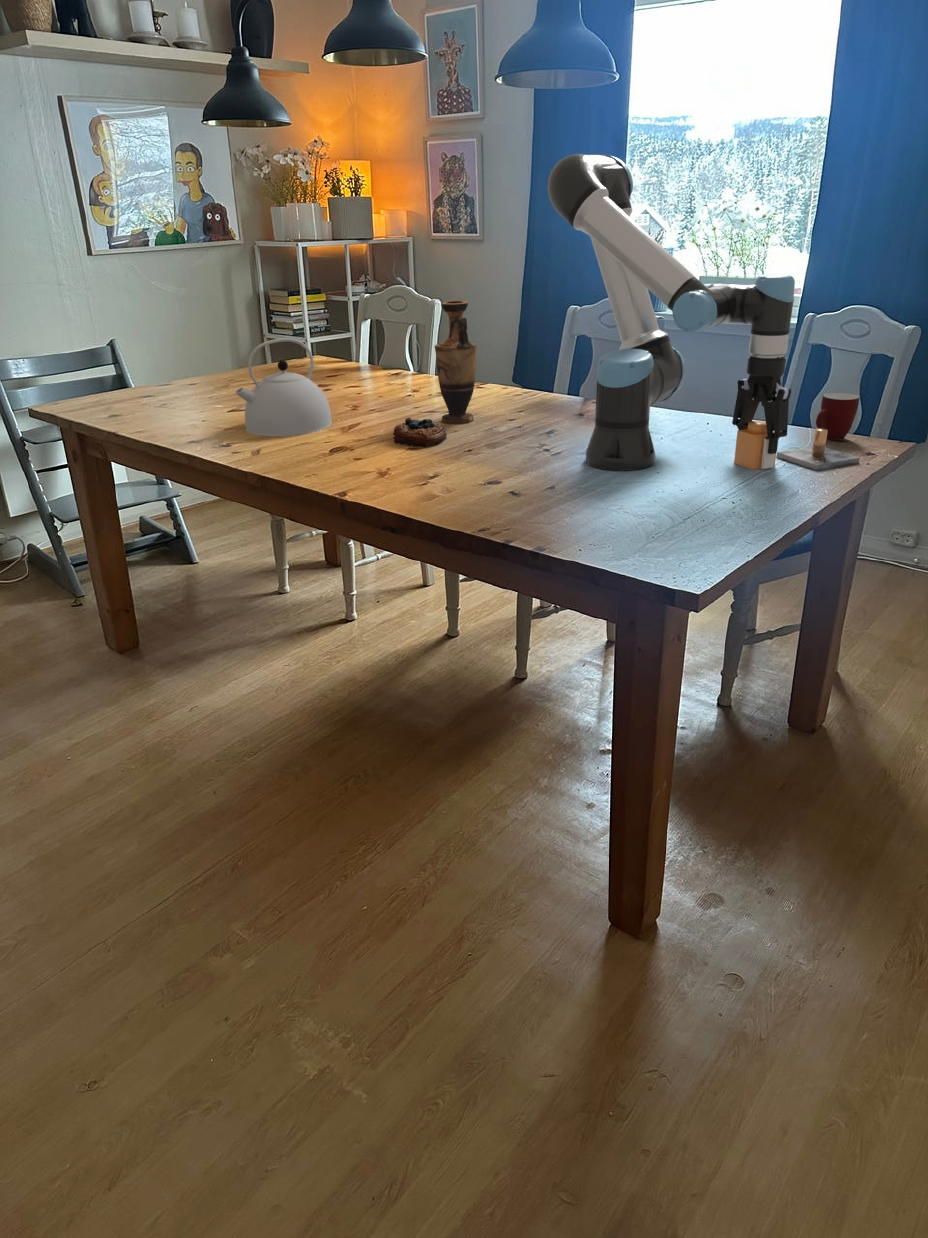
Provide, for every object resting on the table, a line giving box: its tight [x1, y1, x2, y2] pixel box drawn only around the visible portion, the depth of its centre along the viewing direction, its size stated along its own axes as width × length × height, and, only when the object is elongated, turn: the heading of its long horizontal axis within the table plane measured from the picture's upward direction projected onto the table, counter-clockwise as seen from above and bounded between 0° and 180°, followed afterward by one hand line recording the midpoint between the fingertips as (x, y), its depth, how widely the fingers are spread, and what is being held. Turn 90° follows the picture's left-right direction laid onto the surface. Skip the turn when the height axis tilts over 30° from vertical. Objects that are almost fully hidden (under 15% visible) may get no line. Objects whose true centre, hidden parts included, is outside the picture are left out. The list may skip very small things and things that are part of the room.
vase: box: [434, 300, 478, 424], centre depth 232 cm, size 11×11×30 cm
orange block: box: [733, 420, 777, 471], centre depth 192 cm, size 6×6×9 cm
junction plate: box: [776, 428, 860, 472], centre depth 195 cm, size 12×12×7 cm
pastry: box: [392, 417, 448, 448], centre depth 219 cm, size 11×12×6 cm
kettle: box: [234, 337, 333, 437], centre depth 232 cm, size 25×23×22 cm
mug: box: [815, 392, 860, 441], centre depth 210 cm, size 11×8×10 cm
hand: (754, 463), depth 194 cm, fingers open, 7 cm apart
